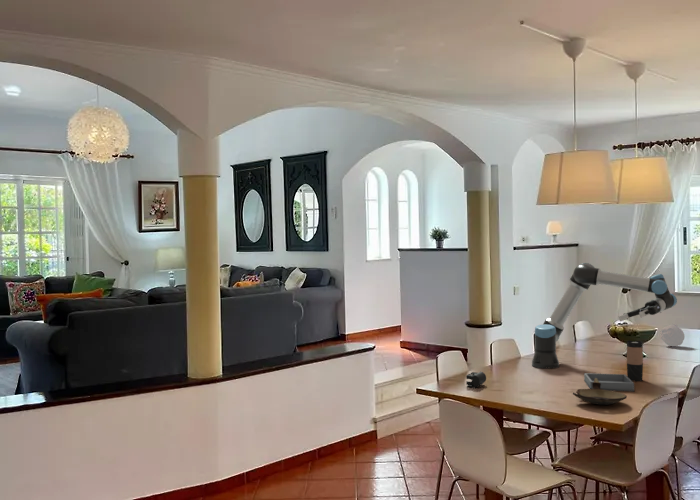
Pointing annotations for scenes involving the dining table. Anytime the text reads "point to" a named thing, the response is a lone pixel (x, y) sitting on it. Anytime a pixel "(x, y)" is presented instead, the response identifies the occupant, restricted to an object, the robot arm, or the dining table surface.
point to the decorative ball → (672, 335)
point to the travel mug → (635, 360)
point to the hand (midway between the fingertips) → (629, 317)
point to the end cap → (475, 379)
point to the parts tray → (610, 381)
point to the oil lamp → (599, 395)
